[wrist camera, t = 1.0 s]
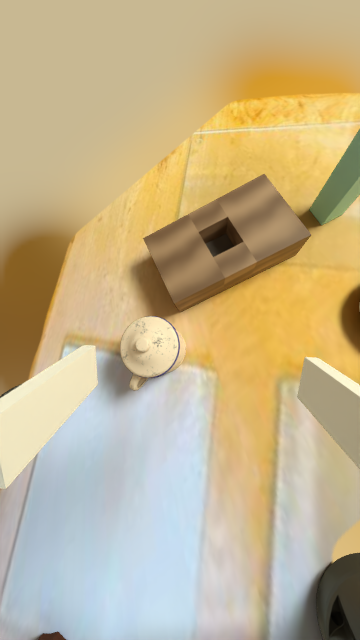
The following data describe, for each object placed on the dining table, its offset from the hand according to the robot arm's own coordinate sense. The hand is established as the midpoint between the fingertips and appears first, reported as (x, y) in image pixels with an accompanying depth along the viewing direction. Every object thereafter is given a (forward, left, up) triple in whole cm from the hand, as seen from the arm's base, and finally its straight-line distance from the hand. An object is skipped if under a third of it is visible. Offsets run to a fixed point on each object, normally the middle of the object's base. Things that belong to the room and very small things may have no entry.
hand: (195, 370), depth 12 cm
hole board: (+18, -12, -23) cm, 32 cm away
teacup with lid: (+5, +7, -24) cm, 25 cm away
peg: (+16, -33, -23) cm, 43 cm away
